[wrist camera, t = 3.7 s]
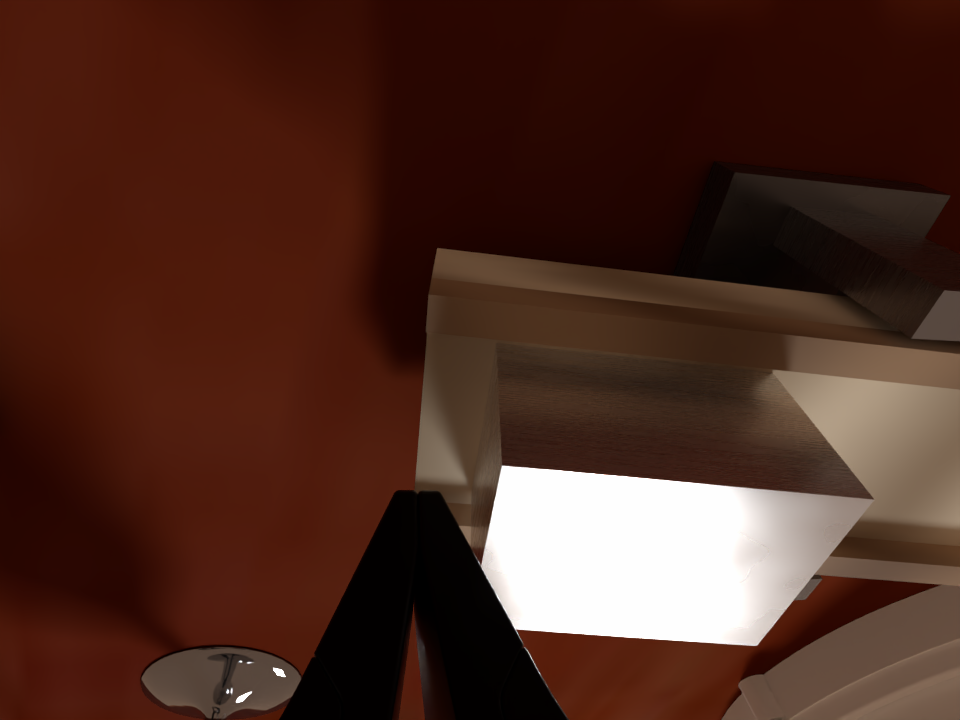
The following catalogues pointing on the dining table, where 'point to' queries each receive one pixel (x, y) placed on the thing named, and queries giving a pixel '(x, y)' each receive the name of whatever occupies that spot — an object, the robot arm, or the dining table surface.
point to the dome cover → (869, 668)
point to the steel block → (651, 496)
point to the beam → (723, 343)
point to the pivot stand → (828, 245)
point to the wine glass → (220, 683)
